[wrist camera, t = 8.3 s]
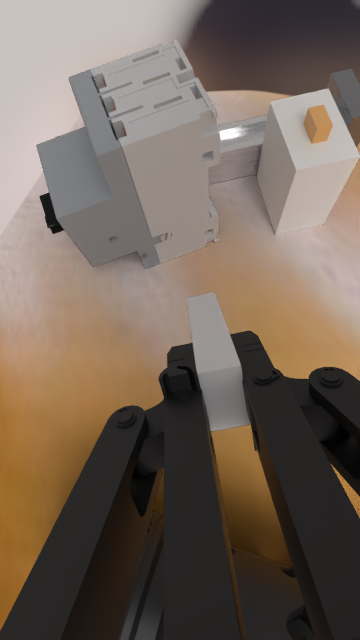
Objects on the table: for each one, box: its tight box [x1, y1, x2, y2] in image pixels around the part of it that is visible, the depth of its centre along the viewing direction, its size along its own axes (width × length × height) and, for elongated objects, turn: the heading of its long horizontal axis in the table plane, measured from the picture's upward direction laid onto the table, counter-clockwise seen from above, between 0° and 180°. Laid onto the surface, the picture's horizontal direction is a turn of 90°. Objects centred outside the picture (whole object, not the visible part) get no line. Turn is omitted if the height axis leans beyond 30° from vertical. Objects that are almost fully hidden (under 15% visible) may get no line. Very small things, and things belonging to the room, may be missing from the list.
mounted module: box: [257, 88, 360, 235], centre depth 30 cm, size 5×8×10 cm, turn 11°
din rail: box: [58, 69, 360, 184], centre depth 34 cm, size 30×6×6 cm, turn 100°
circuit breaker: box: [36, 39, 220, 269], centre depth 28 cm, size 8×14×15 cm, turn 110°
